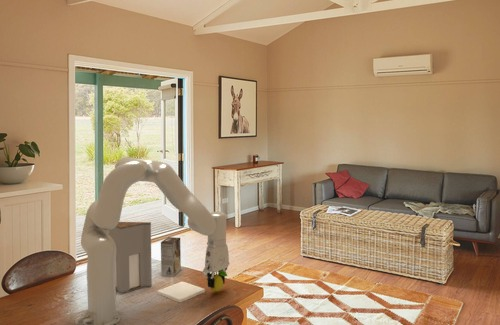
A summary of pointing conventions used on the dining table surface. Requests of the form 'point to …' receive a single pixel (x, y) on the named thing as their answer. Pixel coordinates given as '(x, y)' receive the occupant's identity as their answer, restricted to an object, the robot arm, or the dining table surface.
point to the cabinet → (132, 255)
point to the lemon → (218, 281)
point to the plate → (181, 291)
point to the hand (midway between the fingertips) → (216, 284)
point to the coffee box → (170, 256)
